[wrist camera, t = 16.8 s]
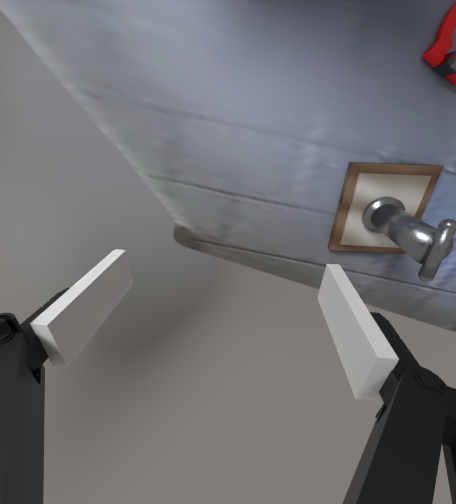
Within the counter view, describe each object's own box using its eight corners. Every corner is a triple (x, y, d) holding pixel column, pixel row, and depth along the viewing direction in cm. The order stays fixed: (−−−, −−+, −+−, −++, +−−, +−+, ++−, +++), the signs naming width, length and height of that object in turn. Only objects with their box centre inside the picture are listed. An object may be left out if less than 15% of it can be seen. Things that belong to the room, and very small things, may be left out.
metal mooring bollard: (368, 190, 38) (425, 222, 26) (409, 189, 38) (488, 221, 25) (357, 236, 42) (401, 283, 30) (393, 236, 42) (454, 284, 29)
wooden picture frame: (349, 162, 38) (353, 163, 37) (436, 165, 37) (445, 166, 36) (327, 246, 46) (330, 250, 44) (400, 250, 45) (406, 255, 43)
